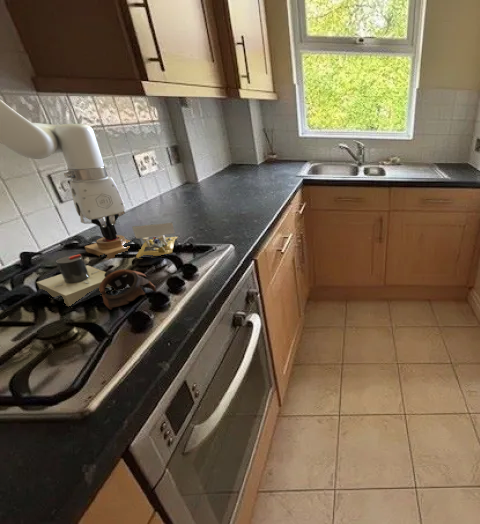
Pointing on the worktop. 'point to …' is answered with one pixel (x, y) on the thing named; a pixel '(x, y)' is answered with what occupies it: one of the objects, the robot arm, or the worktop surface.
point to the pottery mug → (123, 286)
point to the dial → (73, 268)
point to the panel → (72, 286)
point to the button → (109, 240)
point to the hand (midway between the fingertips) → (111, 238)
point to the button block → (108, 247)
